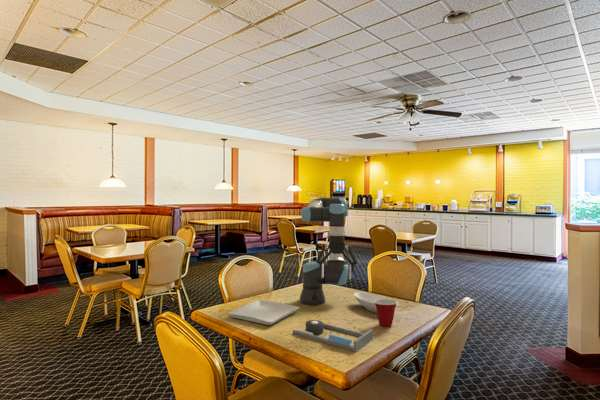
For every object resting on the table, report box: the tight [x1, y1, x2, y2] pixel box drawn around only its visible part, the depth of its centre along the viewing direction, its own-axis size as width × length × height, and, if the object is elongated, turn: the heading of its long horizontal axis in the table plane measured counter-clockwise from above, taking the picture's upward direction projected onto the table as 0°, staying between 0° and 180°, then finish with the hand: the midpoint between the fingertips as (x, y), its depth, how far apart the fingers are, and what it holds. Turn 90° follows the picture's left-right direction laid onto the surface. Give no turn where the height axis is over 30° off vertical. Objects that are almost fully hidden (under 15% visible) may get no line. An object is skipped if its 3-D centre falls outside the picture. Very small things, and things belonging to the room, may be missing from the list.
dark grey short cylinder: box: [305, 319, 324, 336], centre depth 161 cm, size 8×8×4 cm
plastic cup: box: [374, 298, 398, 329], centre depth 169 cm, size 11×11×12 cm
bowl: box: [353, 291, 399, 314], centre depth 194 cm, size 30×15×6 cm, turn 33°
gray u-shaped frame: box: [292, 322, 374, 353], centre depth 155 cm, size 32×16×4 cm, turn 54°
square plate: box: [227, 299, 300, 326], centre depth 182 cm, size 27×27×4 cm
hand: (336, 278), depth 174 cm, fingers open, 13 cm apart
